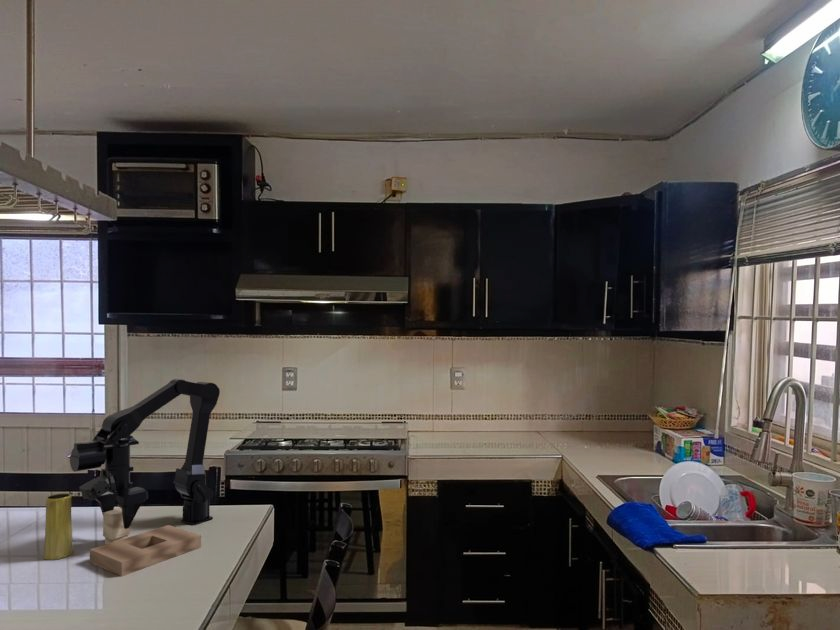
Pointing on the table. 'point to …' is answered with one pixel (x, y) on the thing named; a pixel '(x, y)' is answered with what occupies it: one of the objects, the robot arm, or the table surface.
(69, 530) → the vase
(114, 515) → the peg
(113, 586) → the table surface
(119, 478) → the robot arm
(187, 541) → the board
